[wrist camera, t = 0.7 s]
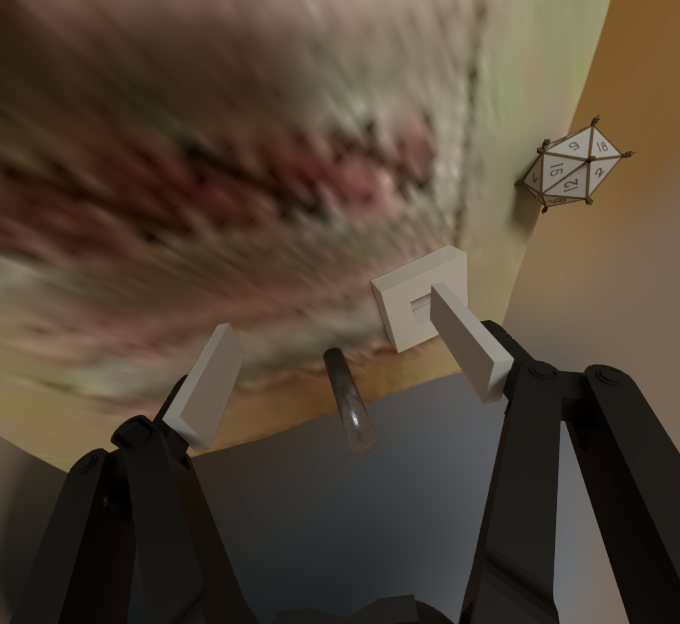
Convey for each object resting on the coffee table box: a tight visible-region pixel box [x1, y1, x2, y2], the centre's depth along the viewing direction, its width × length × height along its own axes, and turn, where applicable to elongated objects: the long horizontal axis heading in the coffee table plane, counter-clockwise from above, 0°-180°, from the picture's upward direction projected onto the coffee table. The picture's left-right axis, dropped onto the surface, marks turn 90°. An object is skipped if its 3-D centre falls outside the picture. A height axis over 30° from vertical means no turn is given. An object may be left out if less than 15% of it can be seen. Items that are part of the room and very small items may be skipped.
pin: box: [323, 348, 378, 455], centre depth 33 cm, size 3×3×15 cm
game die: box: [514, 115, 636, 214], centre depth 27 cm, size 9×8×10 cm
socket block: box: [371, 245, 468, 353], centre depth 35 cm, size 12×12×4 cm
